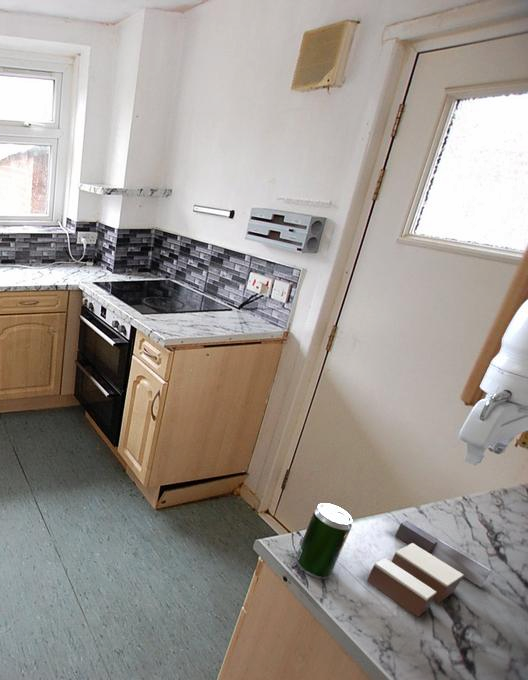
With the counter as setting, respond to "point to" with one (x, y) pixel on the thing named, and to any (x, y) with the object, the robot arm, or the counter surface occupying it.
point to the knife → (443, 552)
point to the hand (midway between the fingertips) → (483, 456)
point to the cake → (428, 570)
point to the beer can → (324, 540)
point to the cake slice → (401, 586)
